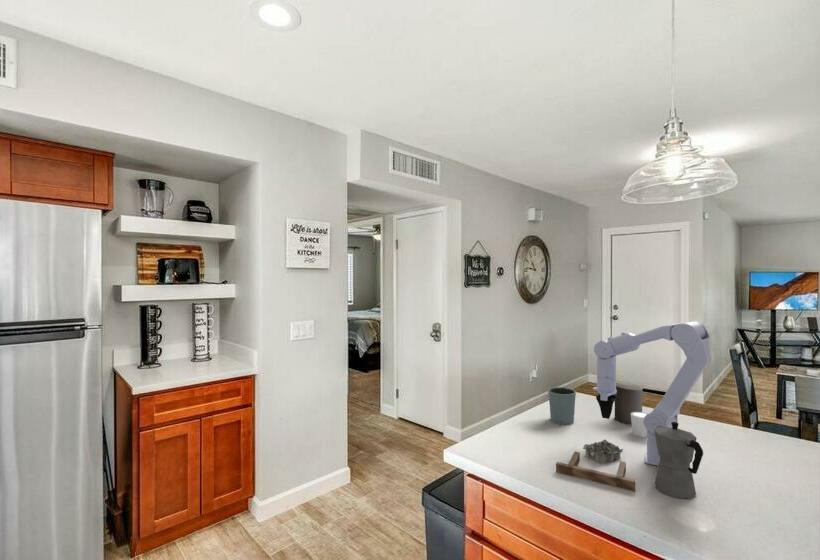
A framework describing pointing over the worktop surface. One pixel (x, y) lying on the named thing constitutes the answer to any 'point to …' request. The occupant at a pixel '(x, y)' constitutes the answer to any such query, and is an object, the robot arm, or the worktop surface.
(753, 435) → the worktop surface
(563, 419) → the teal grey cup
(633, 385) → the pillar candle
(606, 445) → the egg carton
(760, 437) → the worktop surface
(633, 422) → the shot glass
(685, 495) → the coffeepot
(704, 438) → the worktop surface
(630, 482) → the walnut bracket
